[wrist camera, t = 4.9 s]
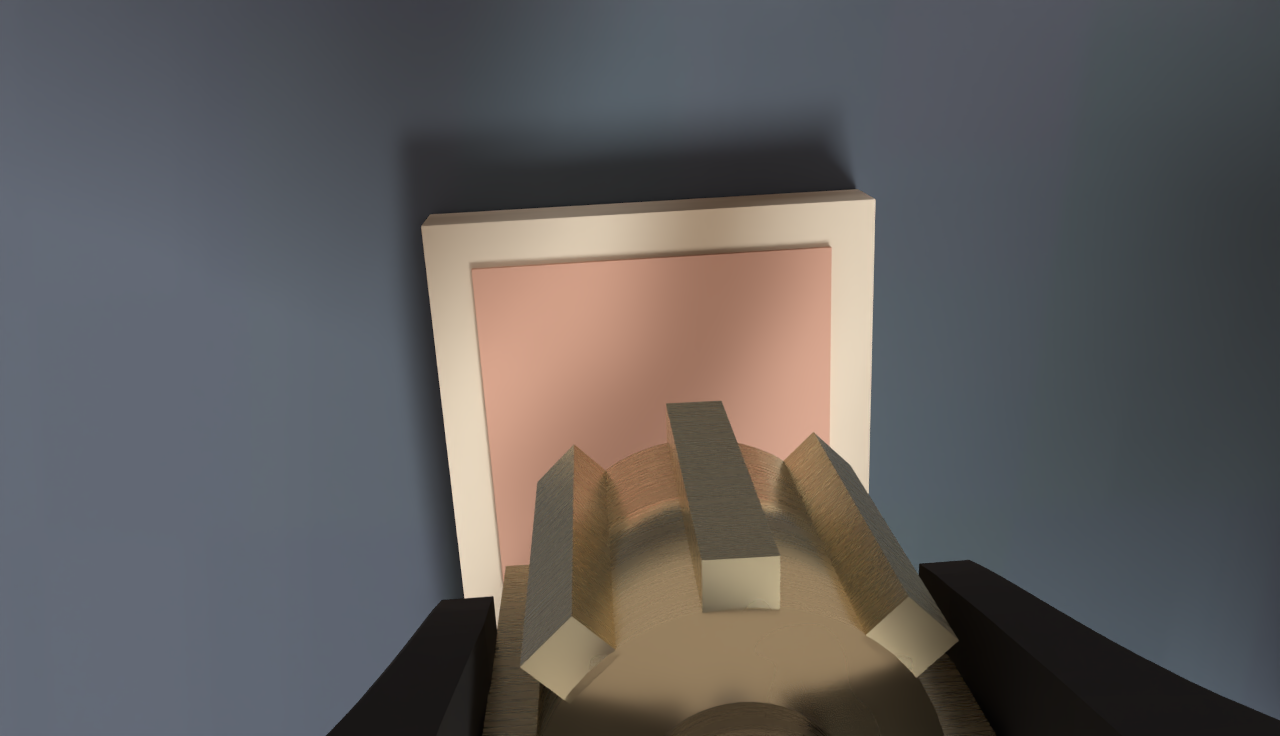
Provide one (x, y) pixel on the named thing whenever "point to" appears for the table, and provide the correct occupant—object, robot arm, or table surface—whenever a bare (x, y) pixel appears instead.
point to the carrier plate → (640, 340)
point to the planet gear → (719, 601)
